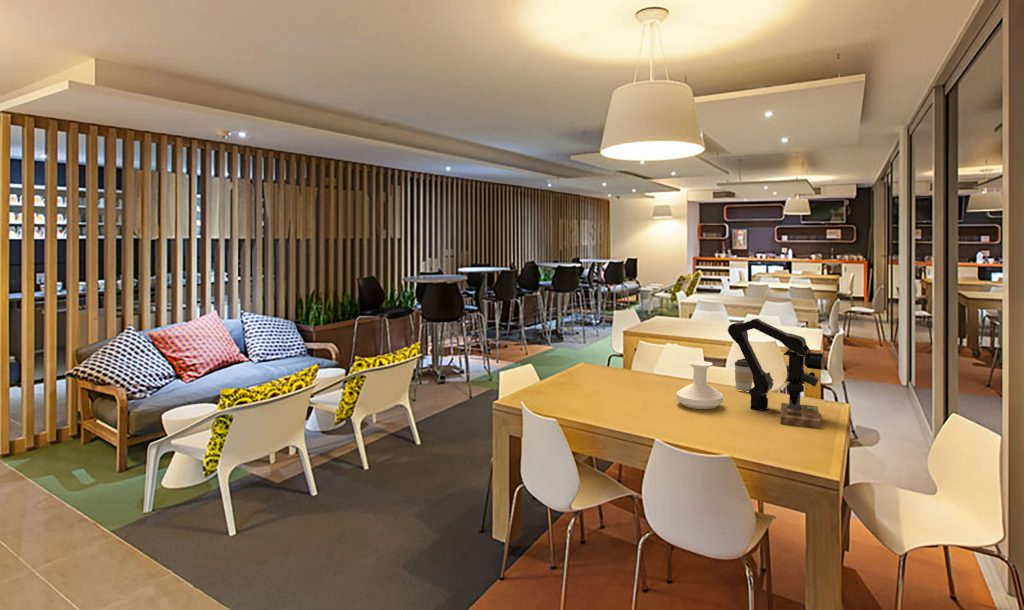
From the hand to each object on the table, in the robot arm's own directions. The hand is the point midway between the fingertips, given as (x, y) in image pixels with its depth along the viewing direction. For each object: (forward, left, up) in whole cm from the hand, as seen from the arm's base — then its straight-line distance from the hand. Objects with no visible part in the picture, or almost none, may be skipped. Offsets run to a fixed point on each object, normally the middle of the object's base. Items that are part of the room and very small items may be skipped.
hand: (794, 403), depth 248 cm
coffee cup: (-22, +34, -5) cm, 41 cm away
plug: (0, 0, -2) cm, 2 cm away
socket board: (+2, -5, -5) cm, 7 cm away
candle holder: (-38, -2, -5) cm, 38 cm away
